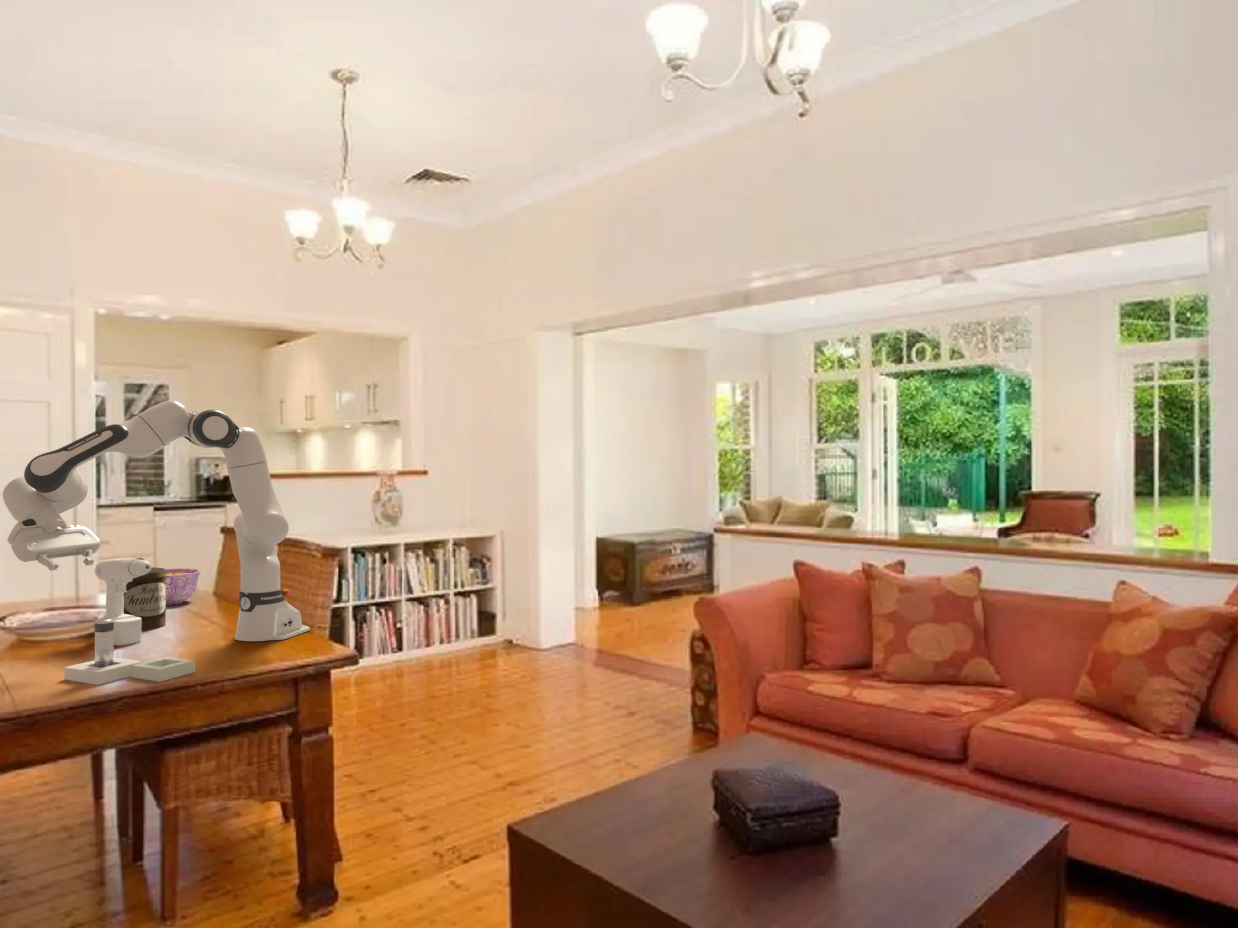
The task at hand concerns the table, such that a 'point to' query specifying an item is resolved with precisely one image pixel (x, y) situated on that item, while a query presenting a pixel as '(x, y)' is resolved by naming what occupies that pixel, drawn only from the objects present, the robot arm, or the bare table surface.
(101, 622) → the clear capped tube
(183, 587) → the bowl of food
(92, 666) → the socket block
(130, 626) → the power drill
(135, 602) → the brown cylinder
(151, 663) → the block
